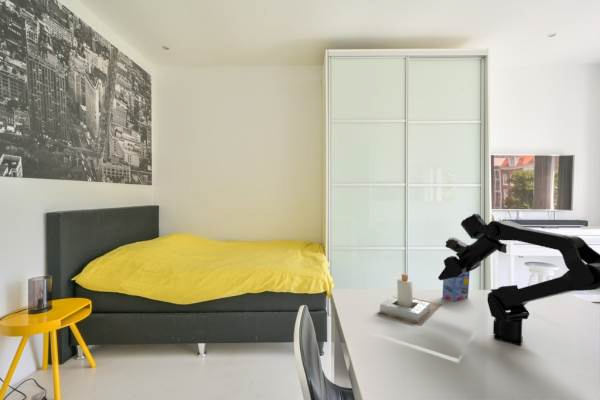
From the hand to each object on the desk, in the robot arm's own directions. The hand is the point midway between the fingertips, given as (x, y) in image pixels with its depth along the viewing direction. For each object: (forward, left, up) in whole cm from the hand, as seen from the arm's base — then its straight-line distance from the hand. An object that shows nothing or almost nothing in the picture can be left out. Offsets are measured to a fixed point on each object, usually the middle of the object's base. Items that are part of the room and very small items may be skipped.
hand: (444, 276), depth 107 cm
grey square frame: (+11, +8, -13) cm, 18 cm away
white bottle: (+11, +8, -13) cm, 18 cm away
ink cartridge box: (+1, -21, -14) cm, 25 cm away
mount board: (+10, +4, -14) cm, 17 cm away
